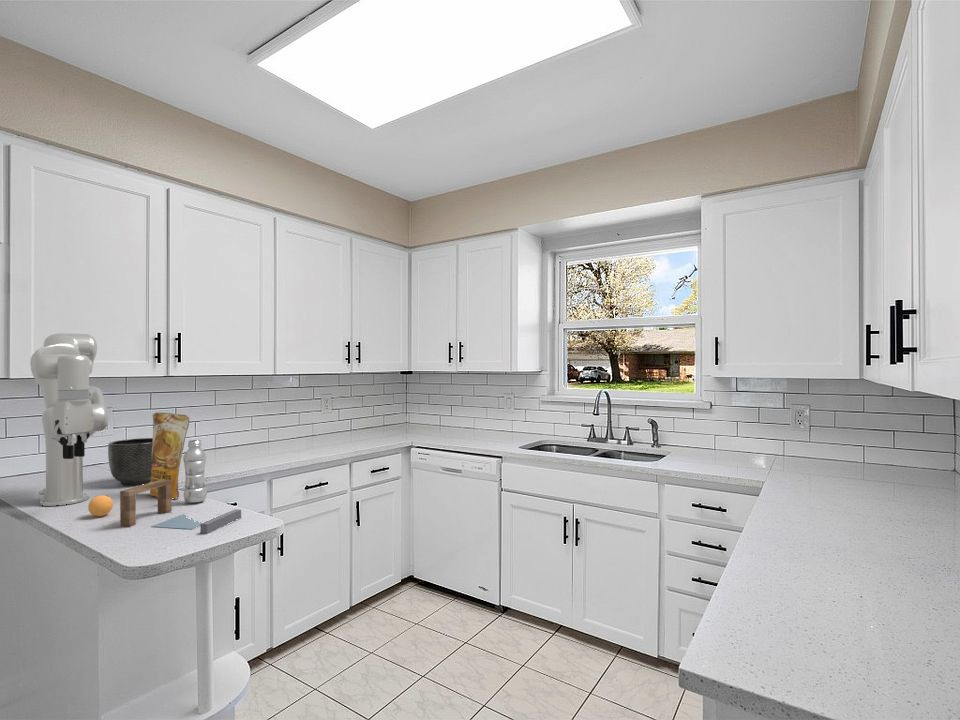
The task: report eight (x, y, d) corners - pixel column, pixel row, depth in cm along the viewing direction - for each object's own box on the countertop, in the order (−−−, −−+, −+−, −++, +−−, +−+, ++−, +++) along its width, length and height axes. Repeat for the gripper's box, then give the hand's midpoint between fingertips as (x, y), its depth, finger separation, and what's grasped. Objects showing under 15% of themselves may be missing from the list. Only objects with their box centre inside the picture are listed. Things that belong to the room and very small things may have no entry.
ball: (82, 518, 153) (82, 497, 153) (101, 512, 159) (101, 492, 159) (100, 519, 152) (100, 498, 152) (118, 513, 158) (118, 493, 158)
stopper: (200, 533, 139) (200, 523, 139) (235, 517, 153) (235, 509, 153) (207, 533, 139) (207, 524, 139) (241, 518, 152) (241, 509, 152)
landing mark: (151, 527, 145) (151, 526, 145) (186, 513, 158) (186, 512, 158) (192, 529, 142) (192, 528, 142) (224, 515, 155) (224, 515, 155)
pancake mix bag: (163, 490, 187) (162, 411, 187) (192, 497, 177) (191, 414, 177) (142, 494, 182) (142, 413, 182) (171, 502, 171) (170, 415, 171)
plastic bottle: (211, 500, 172) (211, 439, 172) (194, 506, 166) (193, 442, 166) (196, 499, 174) (195, 438, 174) (178, 504, 168) (178, 441, 168)
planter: (137, 490, 188) (137, 445, 188) (96, 488, 191) (95, 444, 191) (173, 479, 205) (173, 438, 205) (135, 478, 208) (134, 437, 208)
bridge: (120, 526, 146) (120, 491, 146) (163, 511, 160) (162, 479, 160) (129, 526, 145) (129, 491, 145) (171, 511, 160) (171, 479, 160)
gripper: (88, 394, 167) (88, 452, 166) (35, 397, 151) (35, 462, 151) (108, 394, 165) (108, 453, 165) (57, 398, 149) (57, 463, 149)
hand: (73, 457), depth 158 cm, fingers open, 2 cm apart
